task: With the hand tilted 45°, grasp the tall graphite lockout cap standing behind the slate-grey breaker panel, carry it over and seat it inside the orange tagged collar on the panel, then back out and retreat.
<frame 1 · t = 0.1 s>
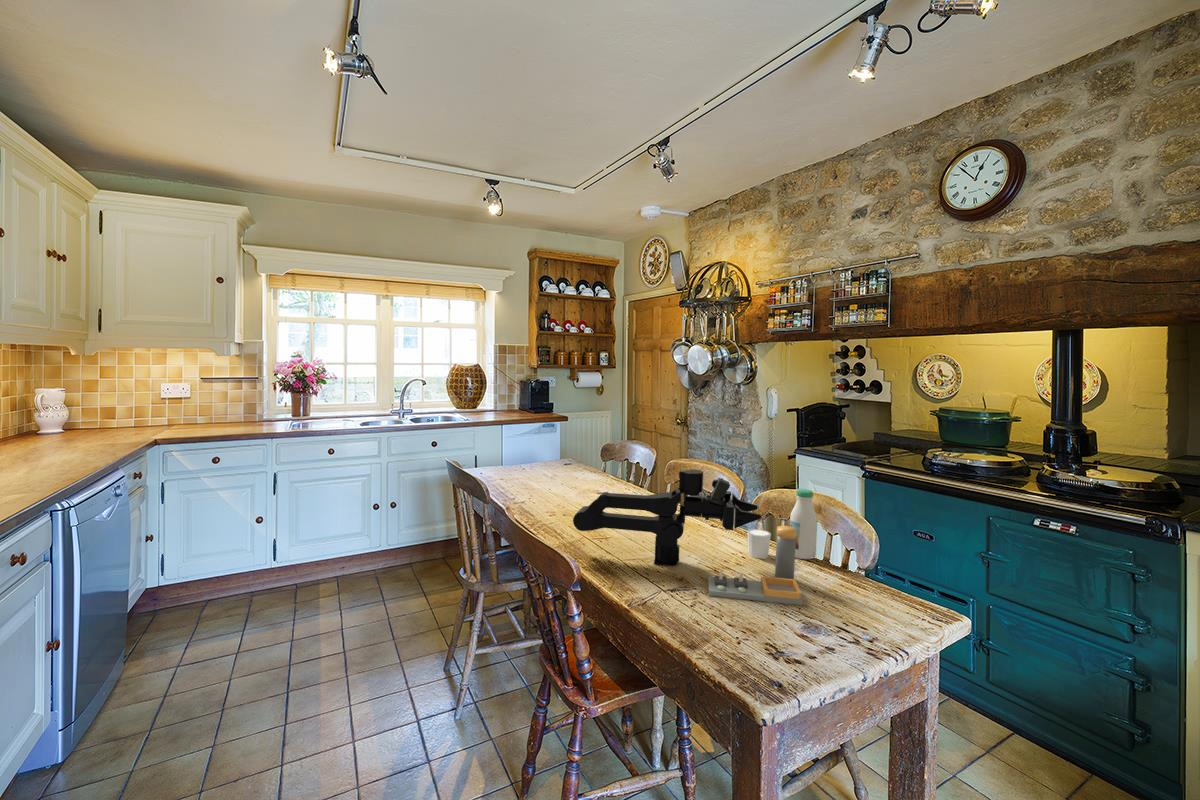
hand: (759, 512, 142), 17 cm above the table, tool horizontal, fingers open, 9 cm apart
white tapered cup: (758, 555, 155), on the table
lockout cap: (784, 579, 137), on the table
breaker panel: (753, 592, 129), on the table
milk bottle: (801, 556, 155), on the table
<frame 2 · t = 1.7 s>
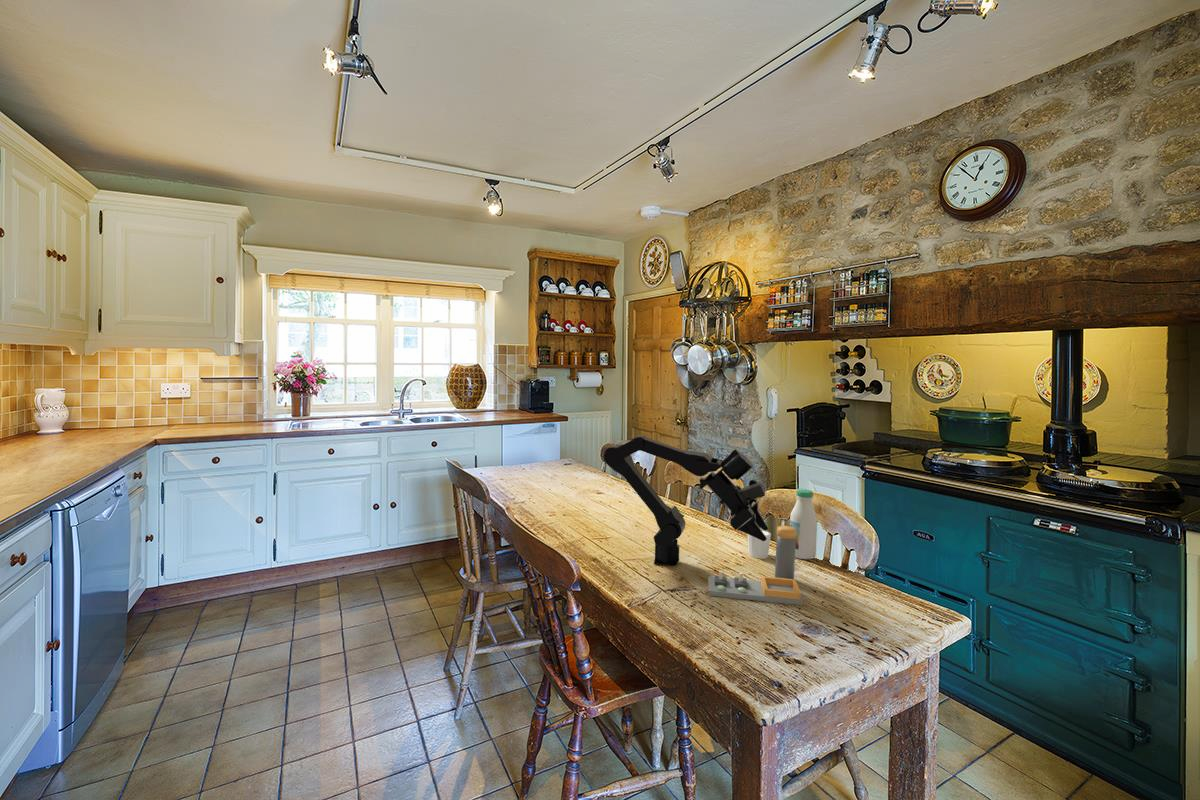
hand: (766, 534, 138), 12 cm above the table, tool tilted 45°, fingers open, 9 cm apart
nothing on the table moved.
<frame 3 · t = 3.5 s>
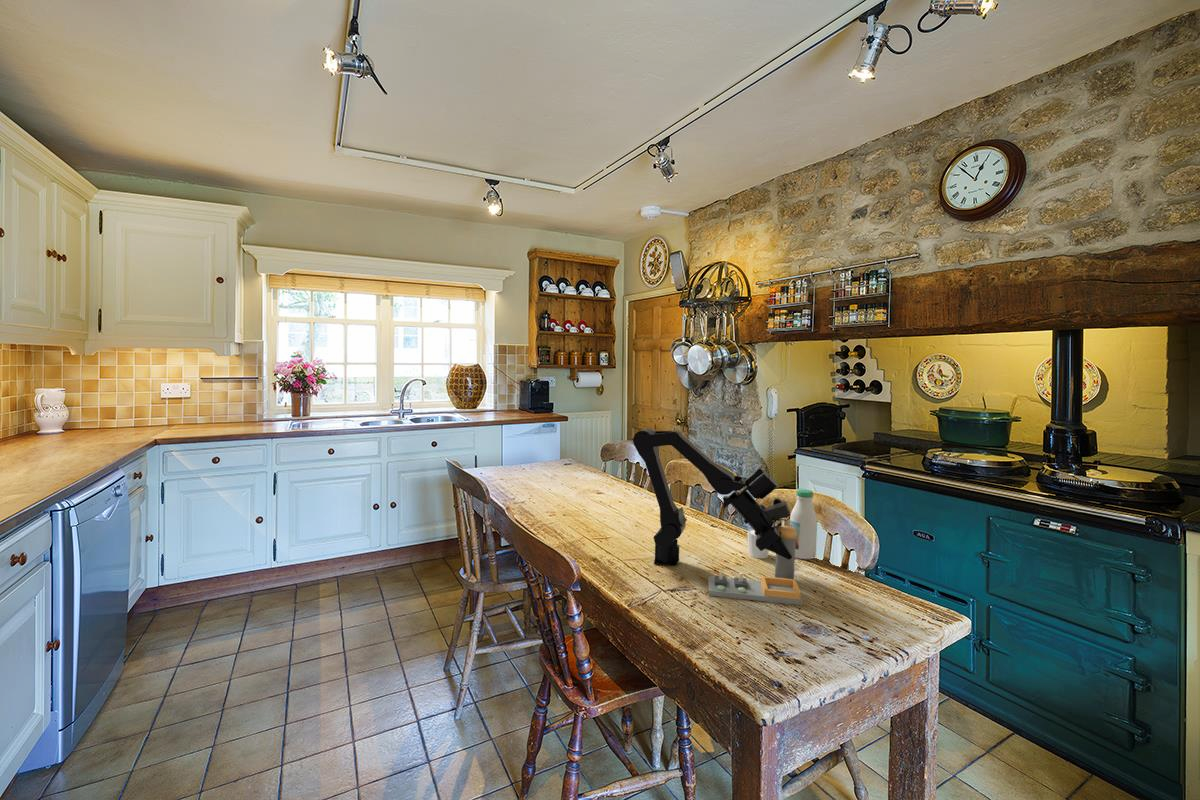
hand: (790, 555, 136), 7 cm above the table, tool tilted 45°, fingers closed on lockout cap, 5 cm apart
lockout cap: (784, 579, 137), on the table, touching gripper
everything else where it was.
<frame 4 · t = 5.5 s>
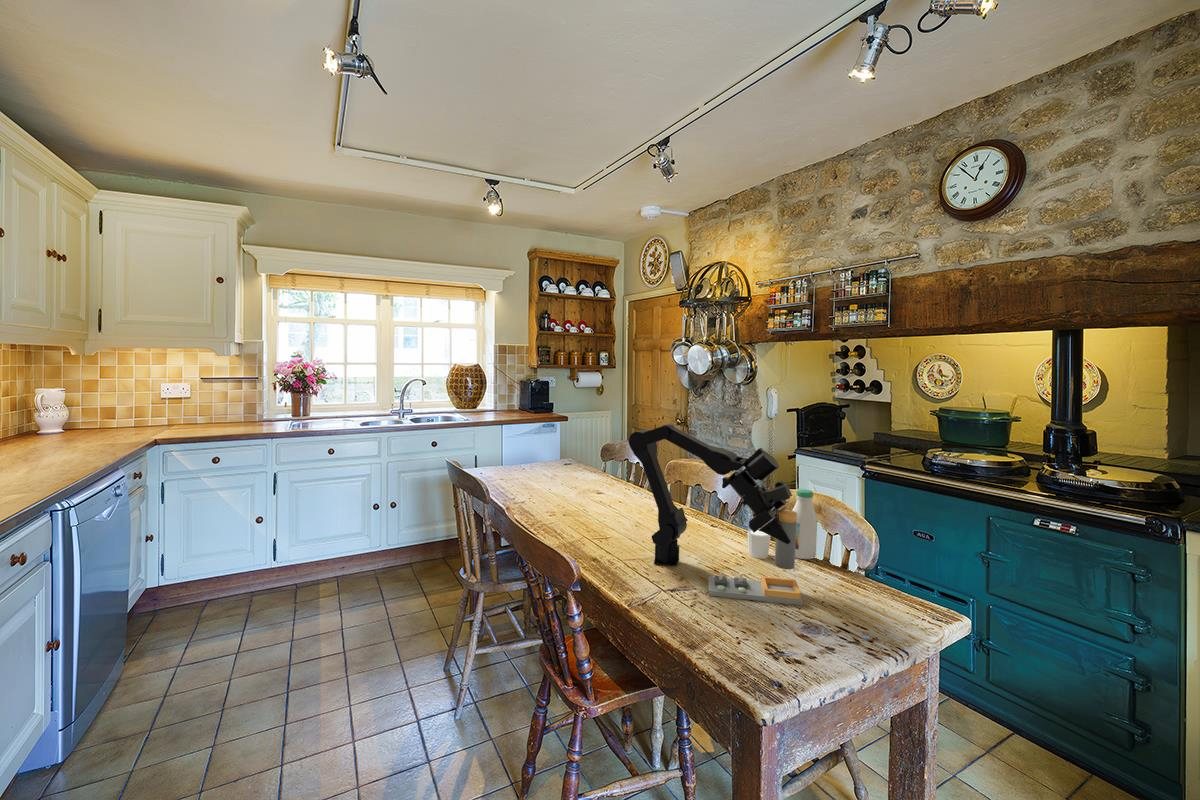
hand: (791, 540, 130), 13 cm above the table, tool tilted 45°, fingers closed on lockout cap, 5 cm apart
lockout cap: (784, 565, 132), point 6 cm above the table, touching gripper
everything else where it was.
when the fingers open (9 cm above the table, at t = 7.1 s): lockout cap drops 1 cm, resting on breaker panel.
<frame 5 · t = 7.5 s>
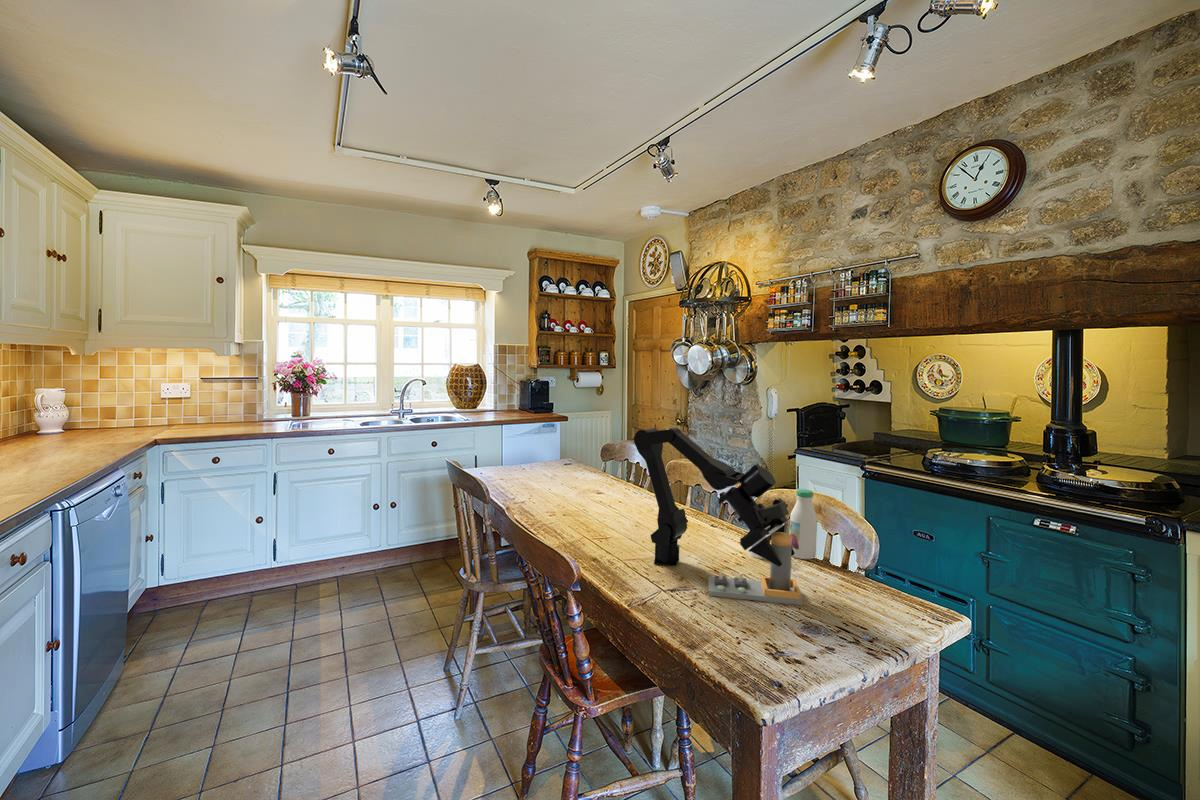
hand: (787, 559, 127), 9 cm above the table, tool tilted 45°, fingers open, 9 cm apart
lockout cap: (779, 590, 128), point 1 cm above the table, touching breaker panel
everything else where it was.
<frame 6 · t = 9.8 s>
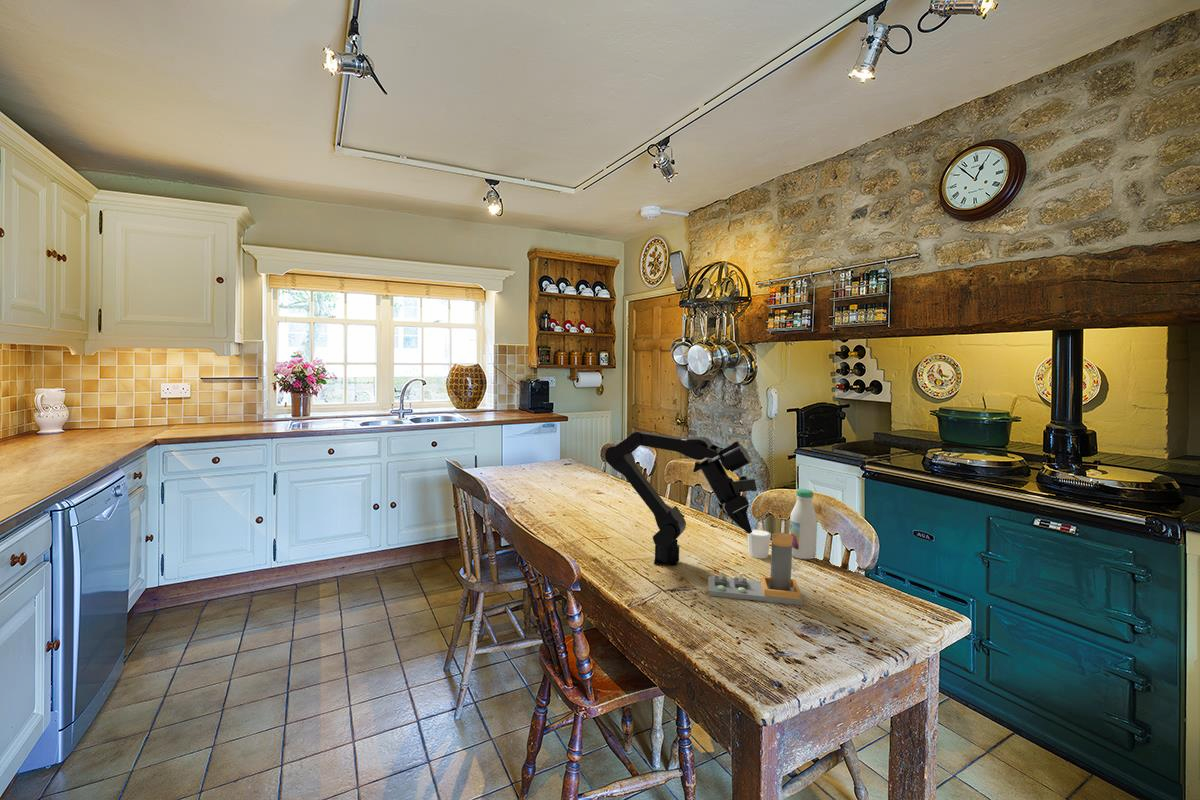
hand: (747, 530, 138), 13 cm above the table, tool tilted 30°, fingers open, 9 cm apart
nothing on the table moved.
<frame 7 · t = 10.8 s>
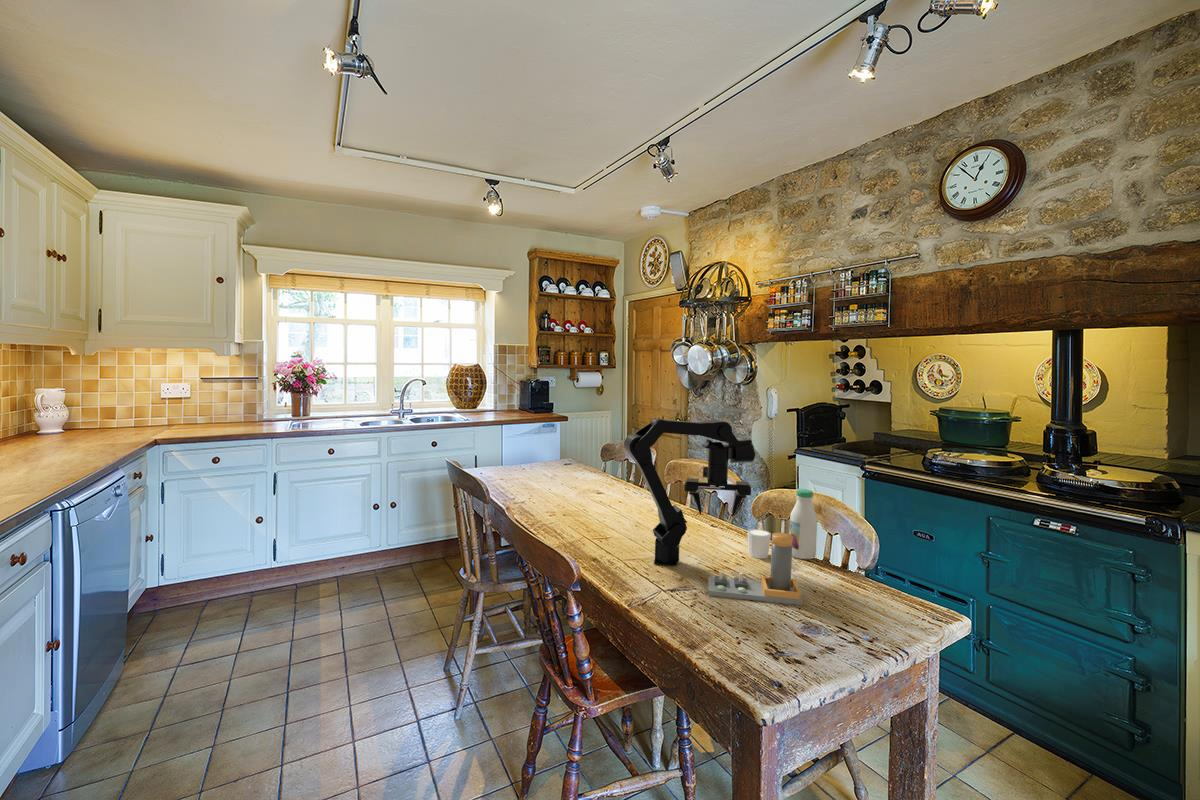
hand: (716, 515, 151), 13 cm above the table, tool pointing down, fingers open, 9 cm apart
nothing on the table moved.
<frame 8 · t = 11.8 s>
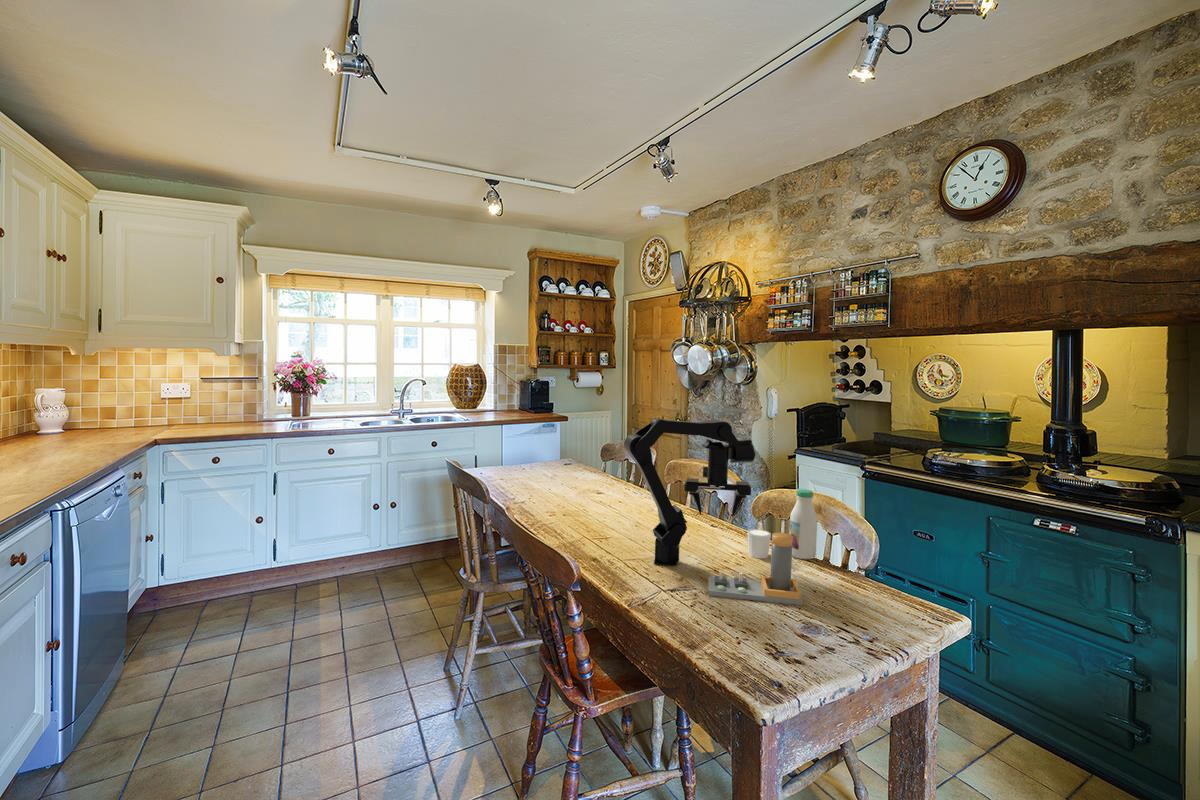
hand: (716, 515, 151), 13 cm above the table, tool pointing down, fingers open, 9 cm apart
nothing on the table moved.
at the end: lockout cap 0.0 cm from the target spot on the breaker panel, point 1.2 cm above the breaker panel's base; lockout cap tilted 0°; the gripper is holding nothing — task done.
